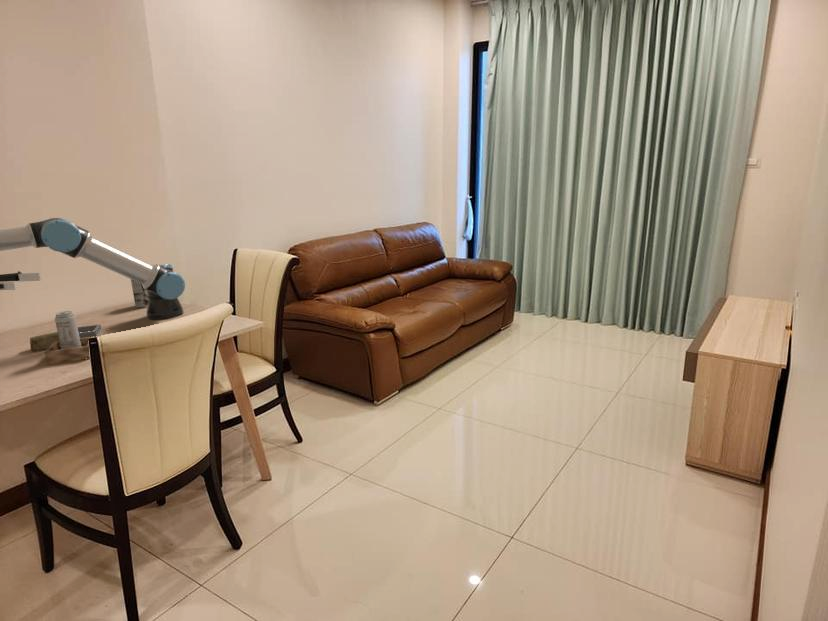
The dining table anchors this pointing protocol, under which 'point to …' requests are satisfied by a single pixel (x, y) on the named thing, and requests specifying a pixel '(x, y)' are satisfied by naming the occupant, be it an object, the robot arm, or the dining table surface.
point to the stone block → (43, 341)
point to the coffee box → (139, 294)
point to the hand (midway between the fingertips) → (27, 280)
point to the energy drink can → (67, 330)
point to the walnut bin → (67, 352)
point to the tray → (89, 328)
